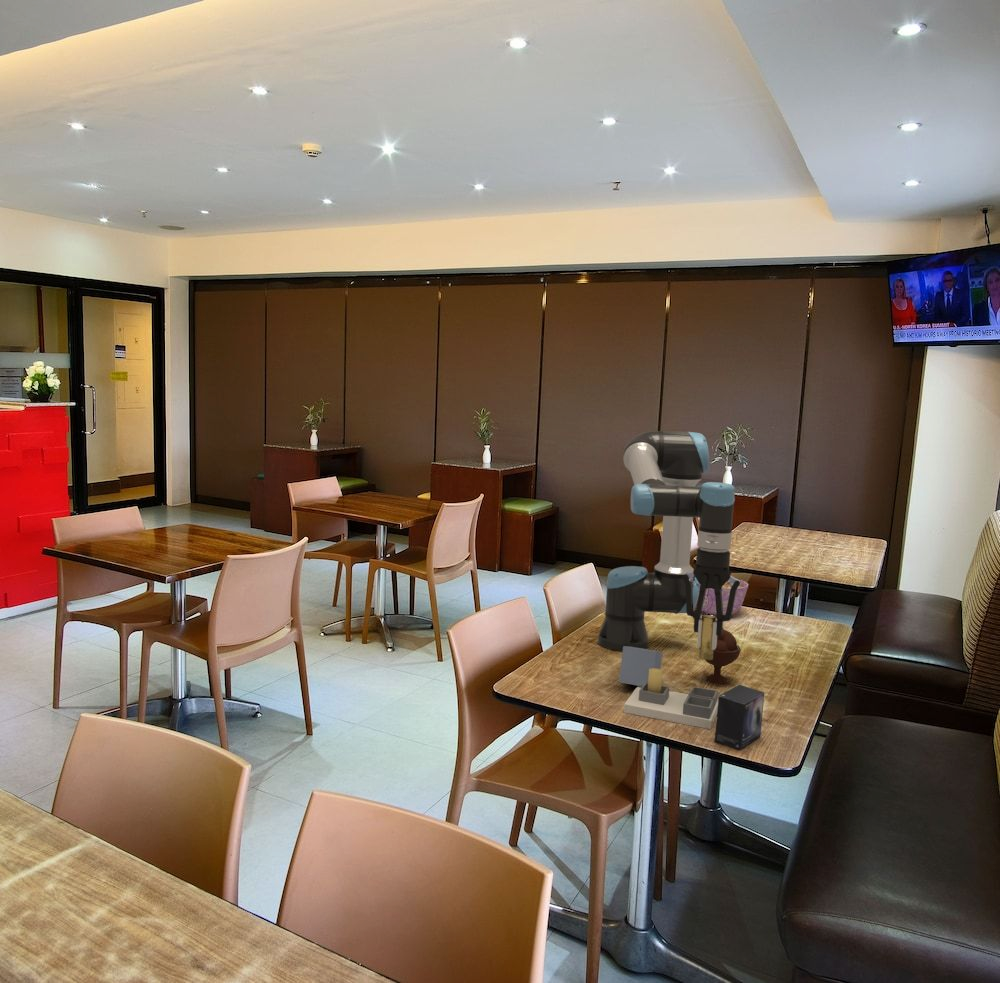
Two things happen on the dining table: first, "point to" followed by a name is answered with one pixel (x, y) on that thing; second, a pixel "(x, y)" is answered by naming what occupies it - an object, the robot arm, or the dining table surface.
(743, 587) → the bowl of food
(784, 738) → the dining table surface
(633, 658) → the cover
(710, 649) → the brass pin
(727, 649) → the ice cream bowl
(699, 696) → the pin board
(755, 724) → the small box
